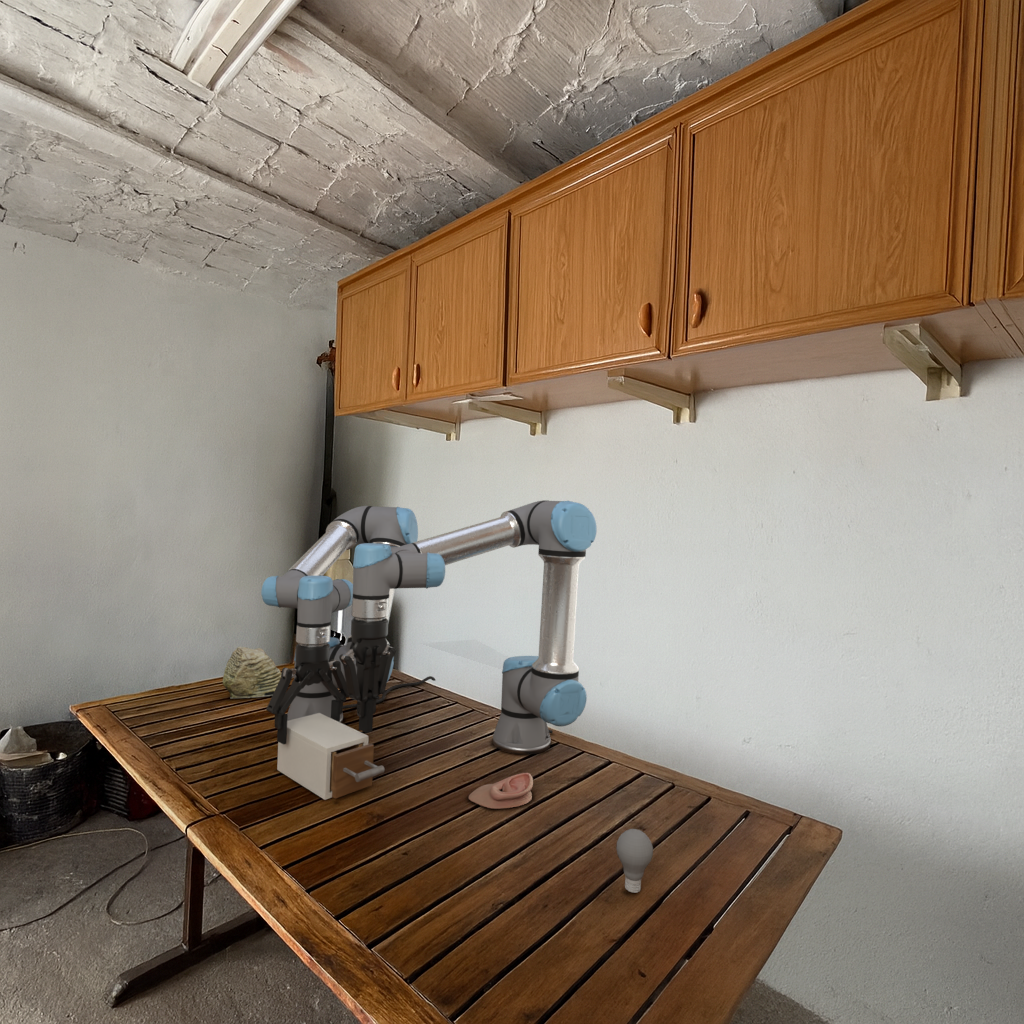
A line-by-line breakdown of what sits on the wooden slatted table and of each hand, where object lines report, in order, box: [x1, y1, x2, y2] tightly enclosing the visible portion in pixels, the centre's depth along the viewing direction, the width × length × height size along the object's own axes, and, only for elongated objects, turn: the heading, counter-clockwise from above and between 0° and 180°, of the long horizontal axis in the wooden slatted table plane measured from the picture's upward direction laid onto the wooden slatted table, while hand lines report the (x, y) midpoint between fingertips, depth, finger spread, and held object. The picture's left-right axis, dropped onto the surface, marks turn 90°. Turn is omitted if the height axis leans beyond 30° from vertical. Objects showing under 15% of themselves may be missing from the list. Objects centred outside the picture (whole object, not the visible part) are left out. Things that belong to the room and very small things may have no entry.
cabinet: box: [276, 713, 369, 801], centre depth 143 cm, size 20×10×11 cm, turn 49°
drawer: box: [330, 743, 386, 800], centre depth 139 cm, size 25×9×9 cm, turn 48°
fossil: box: [222, 646, 282, 699], centre depth 198 cm, size 9×18×15 cm, turn 132°
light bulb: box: [615, 828, 654, 894], centre depth 106 cm, size 6×6×10 cm
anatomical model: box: [468, 772, 534, 810], centre depth 137 cm, size 13×4×12 cm
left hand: (309, 735), depth 146 cm, fingers open, 13 cm apart
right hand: (365, 730), depth 132 cm, fingers closed
